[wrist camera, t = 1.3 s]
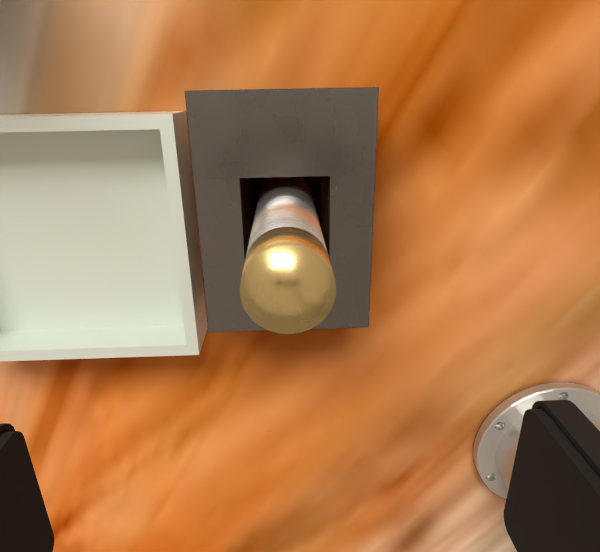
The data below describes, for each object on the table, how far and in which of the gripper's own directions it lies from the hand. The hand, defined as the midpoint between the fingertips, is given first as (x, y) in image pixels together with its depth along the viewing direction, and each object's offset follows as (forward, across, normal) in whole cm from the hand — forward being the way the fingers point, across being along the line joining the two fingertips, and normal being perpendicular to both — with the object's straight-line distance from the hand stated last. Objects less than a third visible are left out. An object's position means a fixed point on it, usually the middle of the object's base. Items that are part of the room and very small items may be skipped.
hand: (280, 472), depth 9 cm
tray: (+25, +14, +2) cm, 29 cm away
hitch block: (+25, 0, 0) cm, 25 cm away
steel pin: (+25, 0, 0) cm, 25 cm away
